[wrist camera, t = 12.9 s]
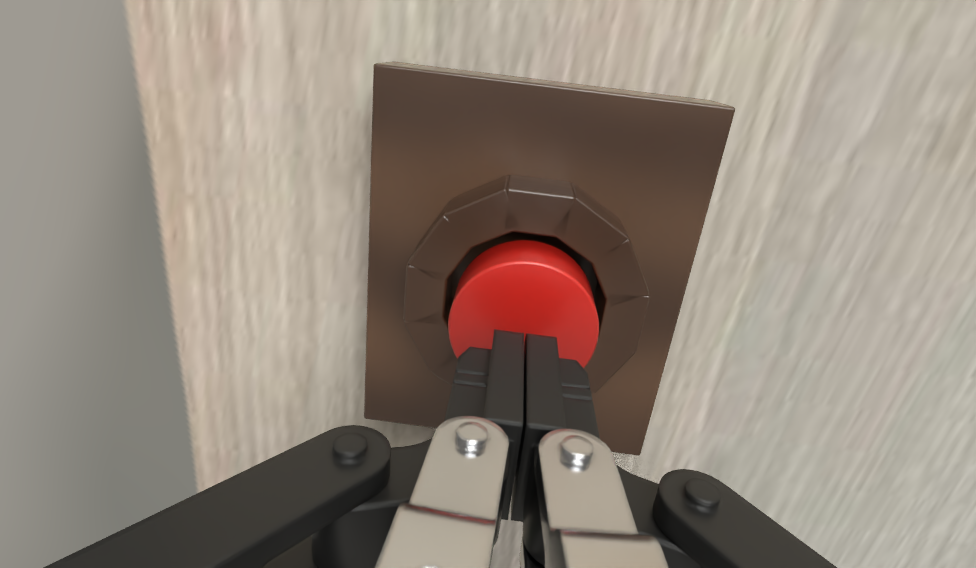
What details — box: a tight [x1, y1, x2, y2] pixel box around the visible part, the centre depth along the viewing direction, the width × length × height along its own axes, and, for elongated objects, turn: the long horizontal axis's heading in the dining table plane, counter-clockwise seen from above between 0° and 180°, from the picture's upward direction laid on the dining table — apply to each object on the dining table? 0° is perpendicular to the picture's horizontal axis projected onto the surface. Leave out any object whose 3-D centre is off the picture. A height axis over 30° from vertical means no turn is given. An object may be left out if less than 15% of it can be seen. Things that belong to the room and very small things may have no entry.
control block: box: [364, 62, 735, 455], centre depth 18 cm, size 12×10×4 cm
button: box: [448, 240, 599, 368], centre depth 15 cm, size 4×4×2 cm
